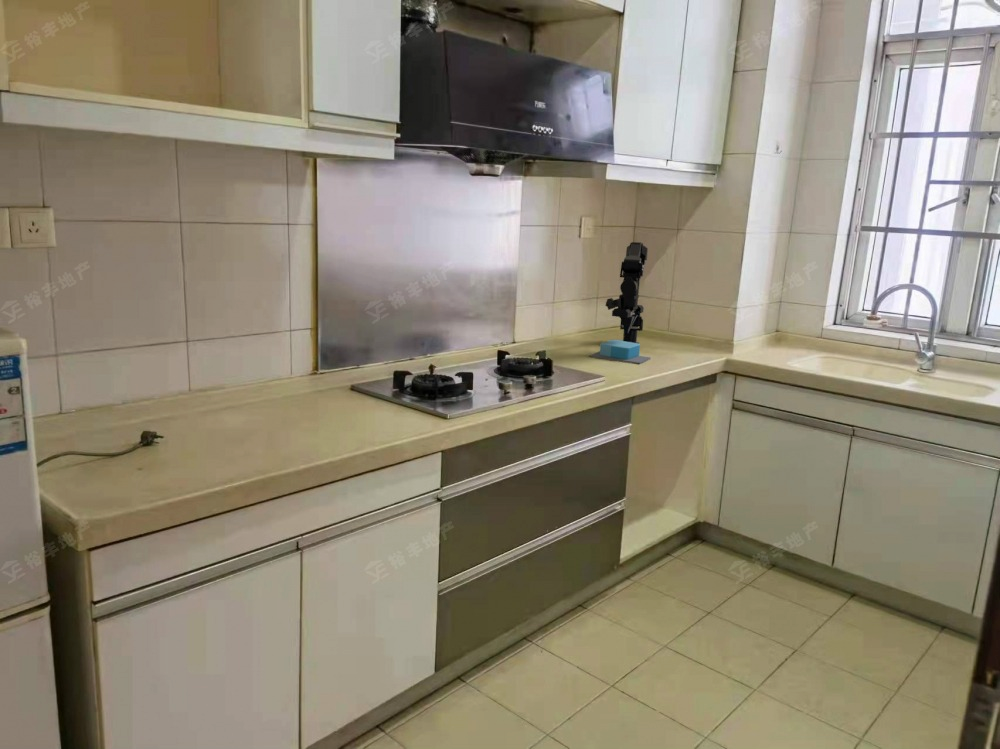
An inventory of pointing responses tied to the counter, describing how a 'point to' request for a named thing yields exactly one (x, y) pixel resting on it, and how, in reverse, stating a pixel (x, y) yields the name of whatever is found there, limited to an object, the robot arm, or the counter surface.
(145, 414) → the counter surface
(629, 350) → the light blue flat block
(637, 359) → the mat
